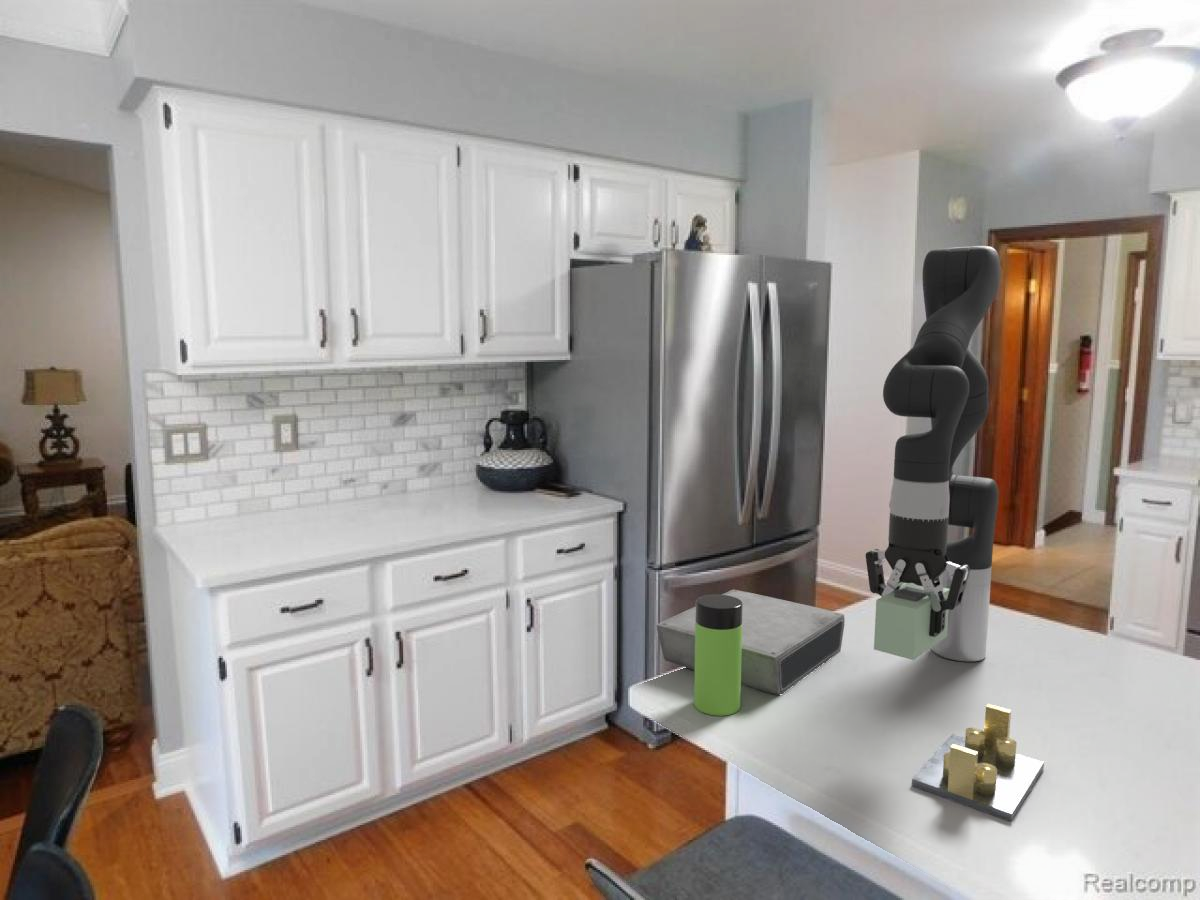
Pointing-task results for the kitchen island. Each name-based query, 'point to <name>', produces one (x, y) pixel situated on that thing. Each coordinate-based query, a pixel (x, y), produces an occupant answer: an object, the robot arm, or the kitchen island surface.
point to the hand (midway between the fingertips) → (912, 629)
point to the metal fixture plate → (982, 768)
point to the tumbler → (718, 654)
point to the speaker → (765, 640)
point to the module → (906, 622)
